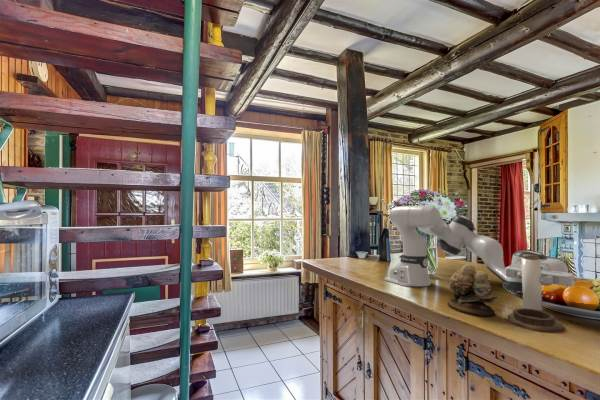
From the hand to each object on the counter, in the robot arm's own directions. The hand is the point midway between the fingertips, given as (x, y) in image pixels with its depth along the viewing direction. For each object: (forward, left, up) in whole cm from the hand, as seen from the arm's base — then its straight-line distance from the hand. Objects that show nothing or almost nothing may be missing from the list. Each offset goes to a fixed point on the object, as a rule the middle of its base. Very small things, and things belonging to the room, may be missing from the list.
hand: (530, 278), depth 108 cm
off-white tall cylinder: (0, +1, -12) cm, 12 cm away
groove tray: (+4, -11, -12) cm, 17 cm away
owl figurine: (-14, -13, -12) cm, 23 cm away
